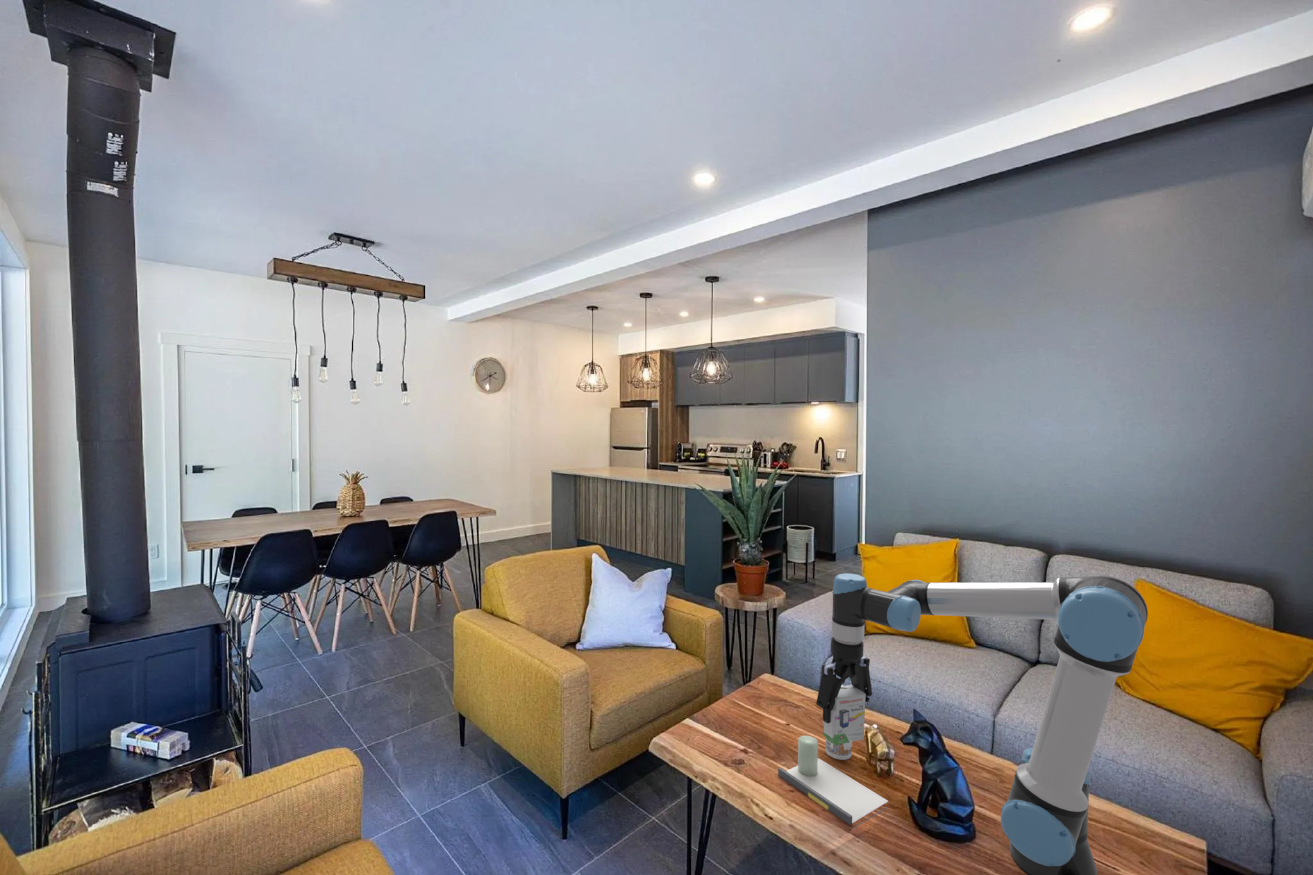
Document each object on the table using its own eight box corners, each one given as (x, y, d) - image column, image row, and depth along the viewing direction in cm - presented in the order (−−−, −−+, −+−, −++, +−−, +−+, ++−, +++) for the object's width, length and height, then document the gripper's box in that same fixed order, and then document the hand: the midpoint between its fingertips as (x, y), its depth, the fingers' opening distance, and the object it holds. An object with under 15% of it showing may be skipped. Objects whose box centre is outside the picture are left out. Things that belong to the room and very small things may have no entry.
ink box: (850, 729, 143) (853, 683, 143) (864, 740, 138) (866, 692, 138) (821, 734, 141) (823, 687, 140) (834, 746, 136) (836, 697, 135)
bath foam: (840, 767, 154) (842, 694, 154) (820, 755, 160) (821, 684, 160) (856, 759, 158) (858, 688, 158) (836, 747, 164) (838, 678, 163)
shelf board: (888, 807, 139) (888, 794, 139) (849, 831, 130) (849, 817, 130) (815, 761, 157) (816, 750, 157) (777, 780, 148) (777, 768, 148)
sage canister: (821, 772, 150) (822, 742, 149) (808, 778, 147) (809, 748, 147) (806, 762, 154) (807, 733, 154) (793, 768, 151) (794, 739, 151)
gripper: (866, 626, 147) (862, 712, 148) (802, 640, 137) (798, 732, 138) (890, 637, 140) (886, 726, 141) (825, 652, 130) (821, 749, 131)
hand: (843, 729), depth 139 cm, fingers closed on ink box, 9 cm apart
